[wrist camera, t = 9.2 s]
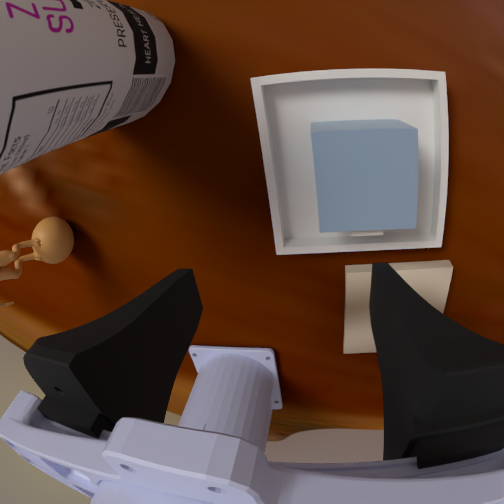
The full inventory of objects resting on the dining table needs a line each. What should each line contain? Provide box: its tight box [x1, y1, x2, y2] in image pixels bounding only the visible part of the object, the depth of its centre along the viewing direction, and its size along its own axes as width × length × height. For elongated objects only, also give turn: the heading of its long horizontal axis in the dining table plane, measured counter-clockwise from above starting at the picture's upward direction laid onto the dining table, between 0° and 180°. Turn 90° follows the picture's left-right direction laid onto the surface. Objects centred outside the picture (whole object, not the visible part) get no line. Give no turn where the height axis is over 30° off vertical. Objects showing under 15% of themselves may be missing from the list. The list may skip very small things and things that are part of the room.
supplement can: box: [0, 0, 175, 174], centre depth 11 cm, size 8×8×15 cm
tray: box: [250, 69, 449, 255], centre depth 18 cm, size 11×11×2 cm
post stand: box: [343, 260, 453, 354], centre depth 21 cm, size 8×8×5 cm
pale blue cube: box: [310, 119, 418, 236], centre depth 16 cm, size 5×6×4 cm
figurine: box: [0, 217, 74, 307], centre depth 20 cm, size 8×6×12 cm
